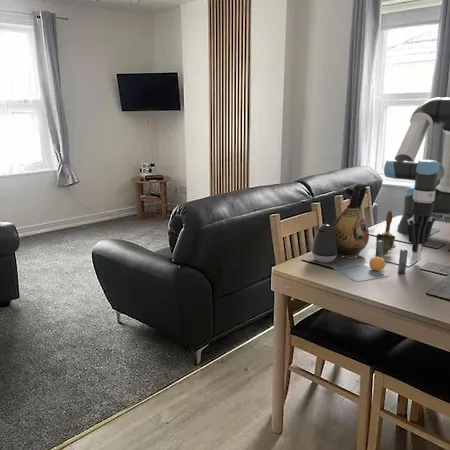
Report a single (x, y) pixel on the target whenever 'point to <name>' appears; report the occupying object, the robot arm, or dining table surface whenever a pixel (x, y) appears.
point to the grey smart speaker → (325, 244)
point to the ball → (377, 263)
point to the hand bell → (388, 225)
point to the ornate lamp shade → (386, 242)
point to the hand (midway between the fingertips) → (415, 259)
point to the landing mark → (360, 272)
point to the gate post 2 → (402, 262)
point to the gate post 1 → (379, 248)
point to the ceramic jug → (352, 224)
